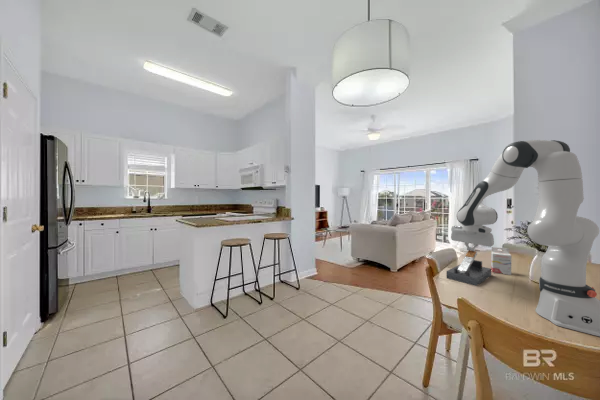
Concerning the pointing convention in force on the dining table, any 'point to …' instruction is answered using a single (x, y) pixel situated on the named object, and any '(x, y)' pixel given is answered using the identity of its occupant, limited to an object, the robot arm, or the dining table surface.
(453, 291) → the dining table surface
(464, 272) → the clamp lever
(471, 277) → the mounting block
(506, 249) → the ink cartridge box
